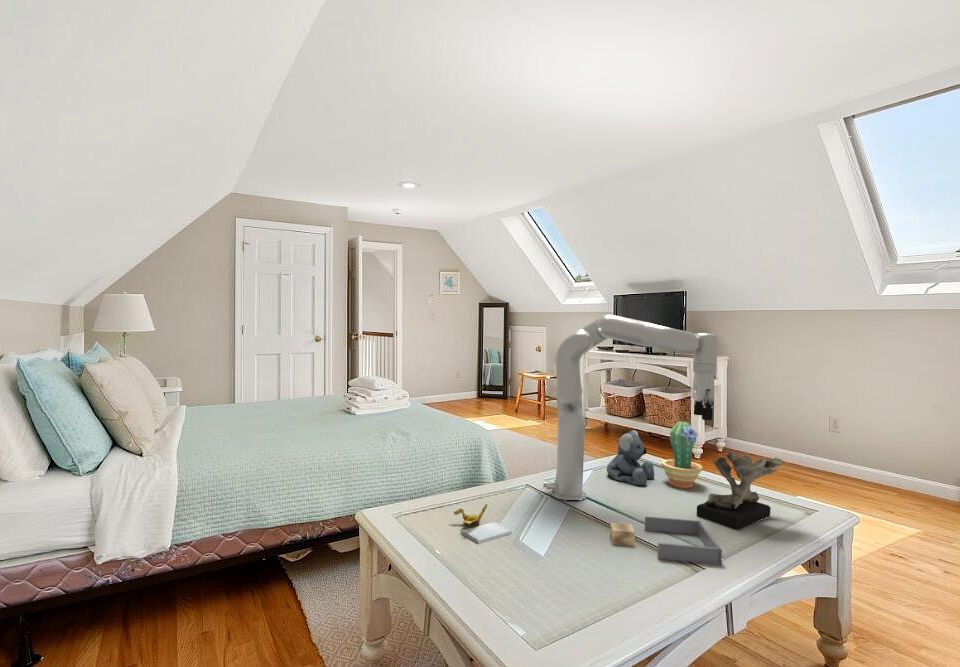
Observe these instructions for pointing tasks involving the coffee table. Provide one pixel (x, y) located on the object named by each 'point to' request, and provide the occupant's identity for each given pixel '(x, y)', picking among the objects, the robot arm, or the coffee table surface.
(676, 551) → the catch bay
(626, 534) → the wooden block
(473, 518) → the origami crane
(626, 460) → the koala plush
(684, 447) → the potted cactus
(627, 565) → the coffee table surface
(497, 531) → the hard drive
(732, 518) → the coral
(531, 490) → the coffee table surface
